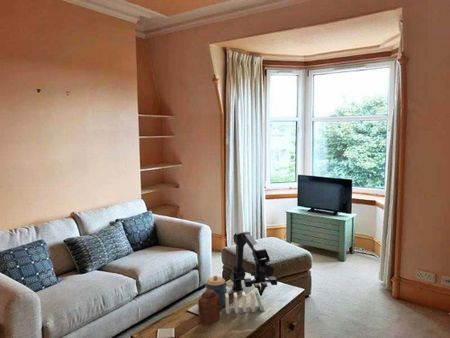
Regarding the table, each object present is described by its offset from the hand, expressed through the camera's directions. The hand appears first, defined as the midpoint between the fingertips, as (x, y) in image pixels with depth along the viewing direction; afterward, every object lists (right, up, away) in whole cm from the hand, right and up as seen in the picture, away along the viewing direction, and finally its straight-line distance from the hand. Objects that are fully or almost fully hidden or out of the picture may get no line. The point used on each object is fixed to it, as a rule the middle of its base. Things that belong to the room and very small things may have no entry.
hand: (260, 295), depth 201 cm
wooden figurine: (-29, -11, -11) cm, 33 cm away
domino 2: (-14, -9, -1) cm, 17 cm away
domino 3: (-9, -8, 0) cm, 13 cm away
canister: (-26, -8, +10) cm, 29 cm away
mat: (-10, -9, 0) cm, 13 cm away
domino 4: (-5, -8, 0) cm, 9 cm away
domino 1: (-19, -9, -1) cm, 21 cm away
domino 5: (0, -8, +1) cm, 8 cm away
